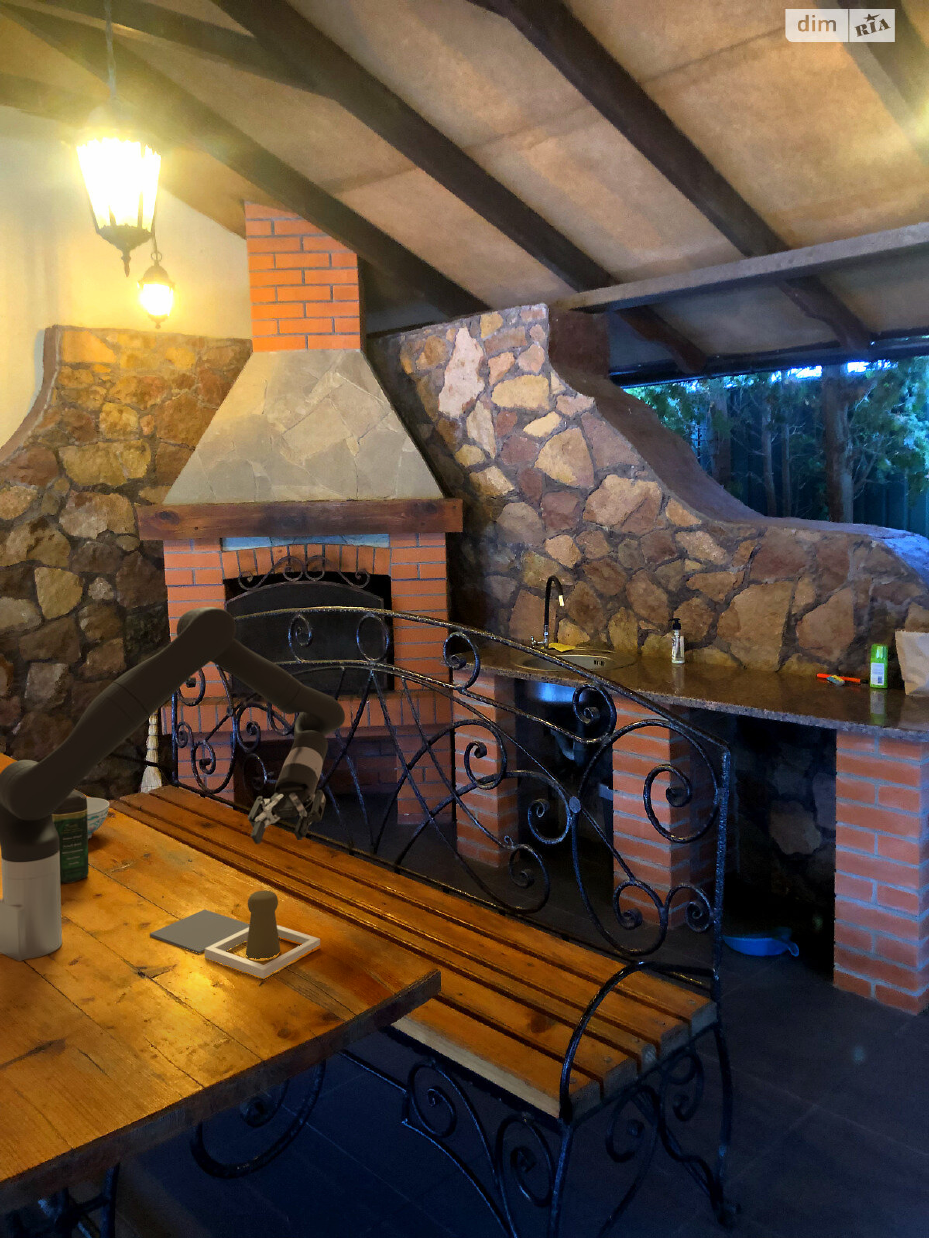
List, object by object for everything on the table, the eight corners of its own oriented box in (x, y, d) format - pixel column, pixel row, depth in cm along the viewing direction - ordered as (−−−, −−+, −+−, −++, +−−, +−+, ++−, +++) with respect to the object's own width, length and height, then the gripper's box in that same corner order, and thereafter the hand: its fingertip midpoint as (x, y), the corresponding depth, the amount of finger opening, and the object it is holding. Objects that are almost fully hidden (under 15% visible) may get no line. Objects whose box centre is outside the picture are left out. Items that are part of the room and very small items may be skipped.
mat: (199, 954, 161) (199, 951, 161) (149, 935, 168) (149, 933, 168) (253, 927, 172) (253, 925, 172) (204, 911, 179) (204, 909, 179)
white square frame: (263, 980, 152) (263, 969, 152) (204, 958, 160) (204, 948, 160) (320, 948, 164) (320, 938, 164) (262, 929, 172) (262, 920, 171)
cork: (238, 956, 161) (237, 895, 160) (261, 942, 166) (260, 883, 165) (265, 964, 158) (265, 902, 157) (287, 950, 163) (287, 890, 162)
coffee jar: (93, 879, 195) (91, 793, 193) (53, 887, 190) (50, 799, 188) (82, 865, 203) (80, 782, 201) (43, 872, 198) (40, 788, 196)
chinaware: (63, 853, 210) (62, 820, 209) (29, 839, 219) (28, 807, 218) (122, 836, 222) (121, 805, 221) (88, 823, 231) (87, 793, 230)
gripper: (260, 765, 181) (233, 828, 168) (326, 757, 178) (304, 821, 165) (274, 792, 185) (249, 855, 172) (339, 785, 182) (319, 849, 169)
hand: (276, 839), depth 169 cm, fingers open, 8 cm apart
